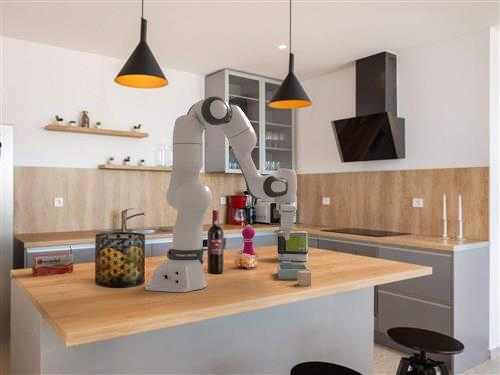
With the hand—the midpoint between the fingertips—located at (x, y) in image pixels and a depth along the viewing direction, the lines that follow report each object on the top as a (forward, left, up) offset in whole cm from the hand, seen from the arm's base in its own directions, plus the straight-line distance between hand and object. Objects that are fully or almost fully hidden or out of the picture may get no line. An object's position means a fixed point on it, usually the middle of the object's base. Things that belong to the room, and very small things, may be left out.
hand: (286, 238), depth 174 cm
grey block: (0, 0, -15) cm, 15 cm away
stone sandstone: (+6, -17, -16) cm, 24 cm away
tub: (+3, -2, -16) cm, 16 cm away
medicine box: (-100, +1, -16) cm, 101 cm away
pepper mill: (-16, +18, -16) cm, 29 cm away
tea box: (+7, +40, -16) cm, 44 cm away
